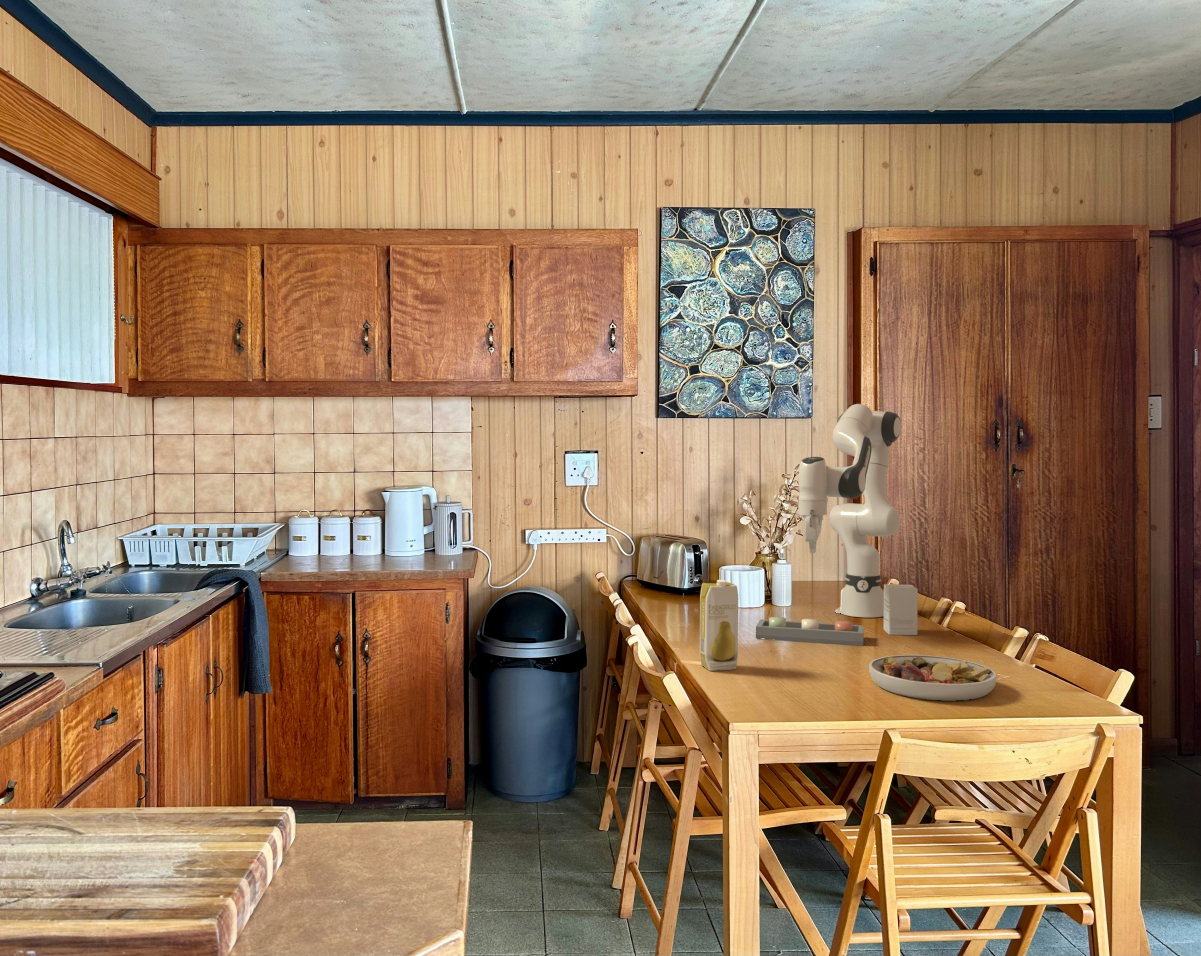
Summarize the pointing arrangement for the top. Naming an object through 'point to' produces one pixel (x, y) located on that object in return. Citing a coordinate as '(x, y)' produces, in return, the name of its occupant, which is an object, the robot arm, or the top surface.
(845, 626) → the brick button
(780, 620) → the sage button
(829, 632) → the grey rectangular tray
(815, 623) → the cream round piece
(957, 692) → the bowl
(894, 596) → the supplement box
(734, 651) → the juice carton
